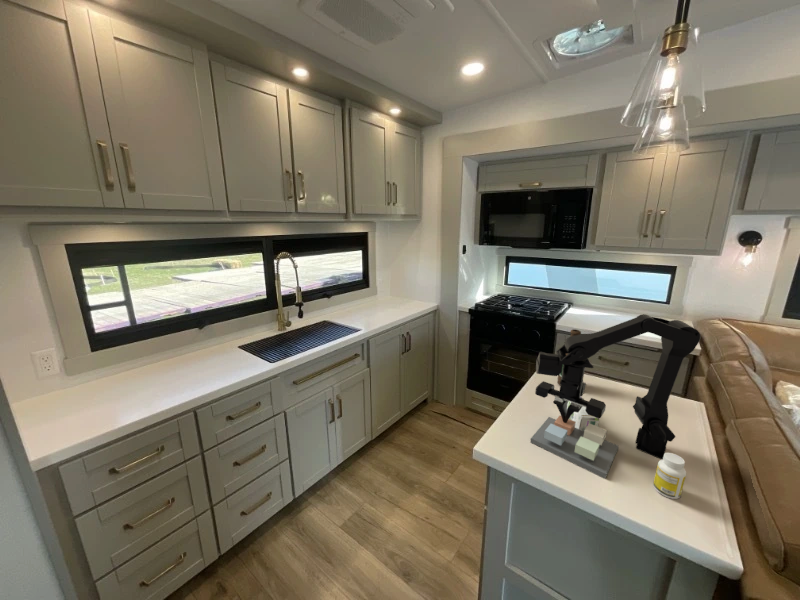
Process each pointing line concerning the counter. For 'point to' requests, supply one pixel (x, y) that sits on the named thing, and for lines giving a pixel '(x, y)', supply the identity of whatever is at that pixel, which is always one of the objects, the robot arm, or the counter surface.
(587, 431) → the cream key
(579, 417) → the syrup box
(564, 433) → the slate blue key
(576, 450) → the sage green key
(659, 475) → the supplement bottle
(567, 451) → the keypad base
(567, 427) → the terracotta key
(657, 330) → the robot arm
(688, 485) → the counter surface
